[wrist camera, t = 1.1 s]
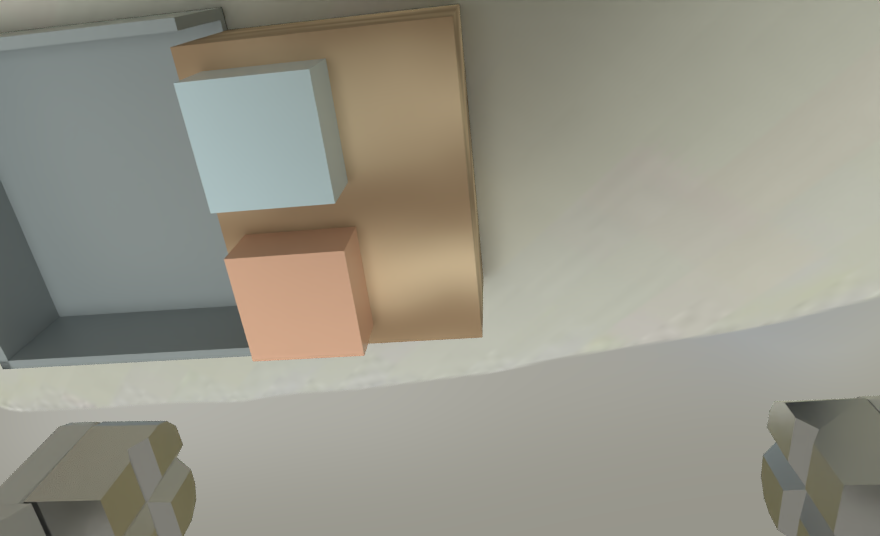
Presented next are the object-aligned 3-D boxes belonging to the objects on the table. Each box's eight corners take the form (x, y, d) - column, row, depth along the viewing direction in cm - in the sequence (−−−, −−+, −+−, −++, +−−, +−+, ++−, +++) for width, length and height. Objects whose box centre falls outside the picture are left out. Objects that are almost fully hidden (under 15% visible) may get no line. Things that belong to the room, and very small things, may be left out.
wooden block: (227, 30, 30) (170, 47, 24) (459, 4, 29) (452, 16, 23) (289, 290, 36) (255, 349, 31) (483, 277, 35) (482, 337, 29)
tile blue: (201, 71, 25) (173, 83, 23) (325, 58, 24) (309, 69, 22) (233, 191, 27) (210, 213, 25) (347, 182, 26) (335, 203, 24)
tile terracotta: (245, 234, 28) (223, 259, 26) (355, 226, 27) (344, 250, 25) (270, 330, 30) (252, 361, 28) (373, 324, 30) (364, 355, 27)
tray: (-62, 40, 31) (-154, 55, 26) (221, 7, 29) (174, 17, 25) (59, 320, 38) (3, 369, 34) (293, 305, 36) (266, 355, 32)
